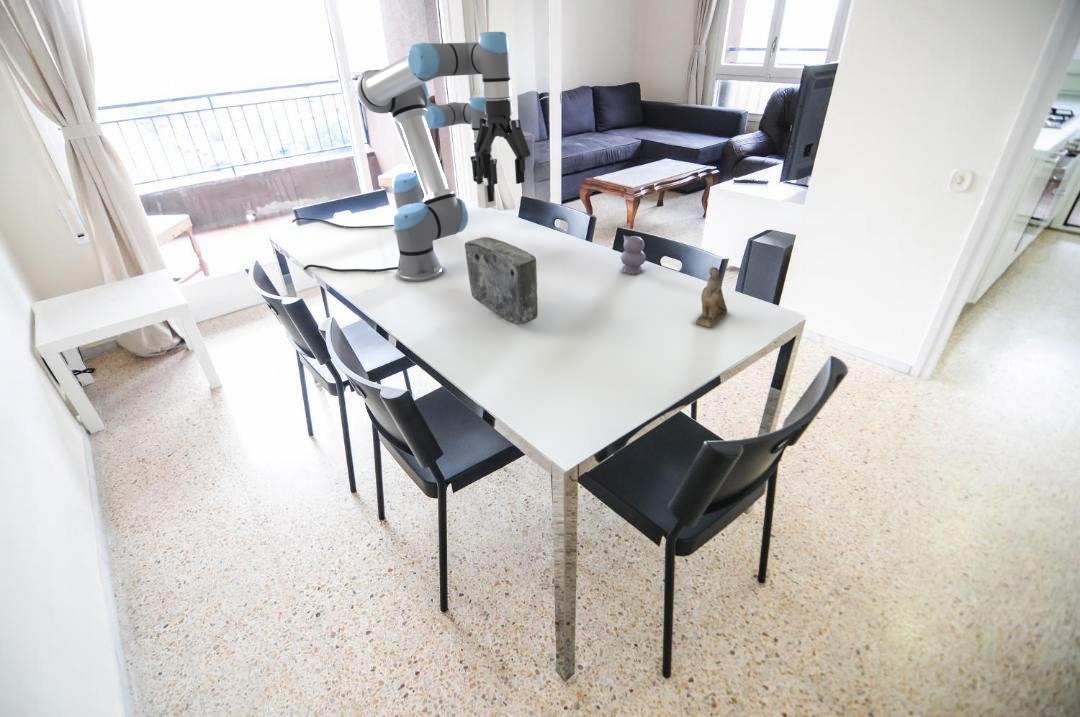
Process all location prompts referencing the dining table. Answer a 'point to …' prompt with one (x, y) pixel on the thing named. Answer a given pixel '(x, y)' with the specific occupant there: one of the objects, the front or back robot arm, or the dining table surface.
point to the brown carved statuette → (712, 301)
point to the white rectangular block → (484, 196)
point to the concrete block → (503, 279)
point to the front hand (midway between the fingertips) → (503, 180)
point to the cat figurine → (633, 254)
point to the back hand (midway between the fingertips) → (486, 200)
